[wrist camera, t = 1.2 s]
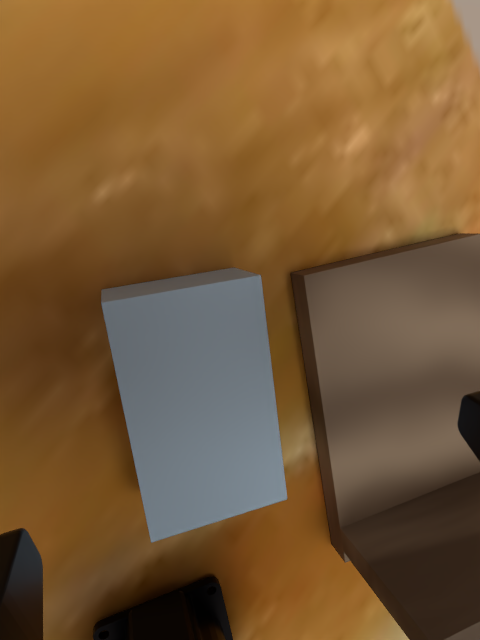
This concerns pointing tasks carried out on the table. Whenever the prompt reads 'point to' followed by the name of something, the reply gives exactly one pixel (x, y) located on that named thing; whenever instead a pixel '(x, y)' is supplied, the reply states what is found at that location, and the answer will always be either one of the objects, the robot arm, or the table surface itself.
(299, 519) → the table surface
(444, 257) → the walnut shelf
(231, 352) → the grey rectangular block
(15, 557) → the robot arm
